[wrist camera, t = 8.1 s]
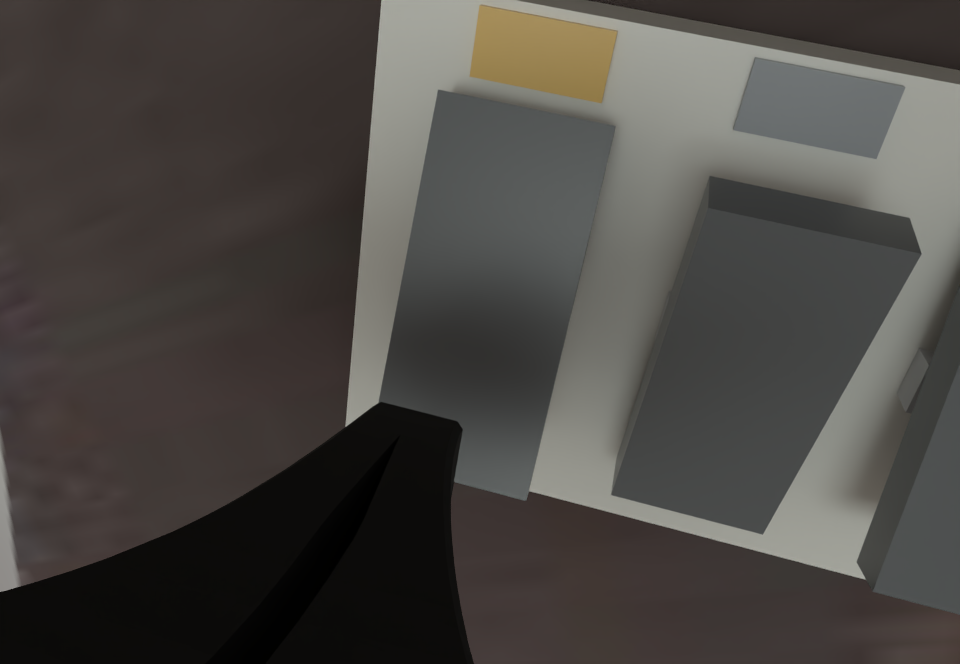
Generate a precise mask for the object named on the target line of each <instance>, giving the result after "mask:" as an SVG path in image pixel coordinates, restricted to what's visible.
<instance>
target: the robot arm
mask: <svg viewBox="0 0 960 664" xmlns="http://www.w3.org/2000/svg"><path fill="white" fill-rule="evenodd" d="M462 432H463V429H462V427H461V426H460V424H459V423H458V422H457V421H455V420H451V419H447V418H443V417H439V416H435V415H431V414H428V413H424V412H420V411H416V410H412V409H408V408H404V407H400V406H396V405H392V404H388V403H384V402H380V403H378V404H376V405H374V406H373V407H371V408H370V409H369V410H367V411H366V412H365V413H363V414H362V415H361V416H359V417H358V418H357V419H356V420H354V421H353V422H352V423H350V424H349V425H348V426H346V427H345V428H344V429H342V430H341V431H340V432H338V433H337V434H336V435H334V436H333V437H331V438H330V439H329V440H327V441H326V442H325V443H323V444H322V445H320V446H319V447H317V448H316V449H315V450H313V451H312V452H310V453H309V454H307V455H306V456H304V457H303V458H301V459H300V460H298V461H297V462H296V463H294V464H293V465H291V466H290V467H288V468H287V469H285V470H284V471H282V472H281V473H279V474H277V475H276V476H274V477H272V478H271V479H269V480H267V481H266V482H264V483H262V484H261V485H259V486H258V487H256V488H254V489H253V490H251V491H249V492H248V493H246V494H244V495H243V496H241V497H239V498H238V499H236V500H234V501H232V502H230V503H229V504H227V505H225V506H223V507H221V508H219V509H218V510H216V511H214V512H212V513H210V514H208V515H206V516H204V517H202V518H200V519H198V520H196V521H194V522H192V523H190V524H188V525H186V526H184V527H182V528H180V529H177V530H175V531H173V532H171V533H168V534H166V535H164V536H161V537H159V538H156V539H154V540H151V541H149V542H146V543H144V544H141V545H139V546H137V547H134V548H132V549H129V550H127V551H124V552H122V553H119V554H117V555H114V556H112V557H109V558H107V559H104V560H101V561H99V562H96V563H93V564H90V565H87V566H84V567H81V568H78V569H75V570H72V571H69V572H66V573H63V574H60V575H57V576H54V577H50V578H47V579H44V580H41V581H38V582H34V583H31V584H28V585H24V586H21V587H17V588H14V589H11V590H7V591H3V592H0V664H474V663H473V659H472V655H471V652H470V648H469V644H468V640H467V635H466V631H465V626H464V621H463V616H462V611H461V606H460V600H459V594H458V588H457V581H456V574H455V566H454V557H453V546H452V533H451V495H452V490H453V484H454V478H455V472H456V466H457V461H458V455H459V449H460V443H461V438H462Z"/></svg>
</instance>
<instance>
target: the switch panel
mask: <svg viewBox="0 0 960 664" xmlns="http://www.w3.org/2000/svg"><path fill="white" fill-rule="evenodd" d="M438 90H443V91H448V92H453V93H458V94H463V95H468V96H472V97H477V98H482V99H487V100H492V101H497V102H502V103H506V104H511V105H516V106H521V107H526V108H531V109H536V110H540V111H545V112H550V113H555V114H560V115H565V116H569V117H574V118H579V119H584V120H589V121H594V122H599V123H603V124H608V125H613V126H616V128H615V134H614V138H613V142H612V146H611V150H610V155H609V159H608V163H607V167H606V171H605V176H604V180H603V184H602V188H601V192H600V196H599V201H598V205H597V209H596V213H595V217H594V222H593V226H592V230H591V234H590V238H589V242H588V247H587V251H586V255H585V259H584V263H583V268H582V272H581V276H580V280H579V284H578V289H577V293H576V297H575V301H574V305H573V309H572V314H571V318H570V322H569V326H568V330H567V335H566V339H565V343H564V347H563V351H562V356H561V360H560V364H559V368H558V372H557V376H556V381H555V385H554V389H553V393H552V397H551V402H550V406H549V410H548V414H547V418H546V423H545V427H544V431H543V435H542V439H541V443H540V448H539V452H538V456H537V460H536V464H535V469H534V473H533V477H532V481H531V485H530V489H529V491H531V492H535V493H539V494H543V495H546V496H550V497H554V498H558V499H562V500H565V501H569V502H573V503H577V504H581V505H584V506H588V507H592V508H596V509H600V510H603V511H607V512H611V513H615V514H619V515H622V516H626V517H630V518H634V519H638V520H641V521H645V522H649V523H653V524H657V525H660V526H664V527H668V528H672V529H676V530H679V531H683V532H687V533H691V534H695V535H698V536H702V537H706V538H710V539H714V540H717V541H721V542H725V543H729V544H733V545H736V546H740V547H744V548H748V549H752V550H755V551H759V552H763V553H767V554H770V555H774V556H778V557H782V558H786V559H789V560H793V561H797V562H801V563H805V564H808V565H812V566H816V567H820V568H824V569H827V570H831V571H835V572H839V573H843V574H846V575H850V576H854V577H858V578H862V579H865V577H864V575H863V573H862V571H861V569H860V568H859V566H858V564H857V559H858V557H859V554H860V551H861V548H862V546H863V543H864V540H865V538H866V535H867V532H868V530H869V527H870V524H871V522H872V519H873V516H874V513H875V511H876V508H877V505H878V503H879V500H880V497H881V495H882V492H883V489H884V487H885V484H886V481H887V478H888V476H889V473H890V470H891V468H892V465H893V462H894V460H895V457H896V454H897V452H898V449H899V446H900V443H901V441H902V438H903V435H904V433H905V430H906V427H907V425H908V422H909V419H910V417H911V414H912V411H913V408H914V406H915V403H916V400H917V398H918V395H919V392H920V390H921V387H922V384H923V381H924V379H925V376H926V373H927V371H928V368H929V365H930V363H931V360H932V357H933V355H934V352H935V349H936V346H937V344H938V341H939V338H940V336H941V333H942V330H943V328H944V325H945V322H946V320H947V317H948V314H949V311H950V309H951V306H952V303H953V301H954V298H955V295H956V293H957V290H958V287H959V285H960V70H955V69H950V68H945V67H939V66H934V65H929V64H923V63H918V62H913V61H907V60H902V59H897V58H891V57H886V56H881V55H875V54H870V53H865V52H859V51H854V50H849V49H844V48H838V47H833V46H828V45H822V44H817V43H812V42H806V41H801V40H796V39H790V38H785V37H780V36H774V35H769V34H764V33H758V32H753V31H748V30H743V29H737V28H732V27H727V26H721V25H716V24H711V23H705V22H700V21H695V20H689V19H684V18H679V17H673V16H668V15H663V14H657V13H652V12H647V11H642V10H636V9H631V8H626V7H620V6H615V5H610V4H604V3H599V2H594V1H588V0H382V1H381V13H380V25H379V37H378V49H377V60H376V72H375V84H374V96H373V108H372V119H371V131H370V143H369V155H368V167H367V179H366V190H365V202H364V214H363V226H362V238H361V249H360V261H359V273H358V285H357V297H356V309H355V320H354V332H353V344H352V356H351V368H350V380H349V391H348V403H347V415H346V426H348V425H349V424H350V423H352V422H353V421H354V420H356V419H357V418H358V417H359V416H361V415H362V414H363V413H365V412H366V411H367V410H369V409H370V408H371V407H373V406H374V405H376V404H378V402H379V397H380V391H381V386H382V381H383V376H384V370H385V365H386V360H387V355H388V349H389V344H390V339H391V334H392V328H393V323H394V318H395V313H396V307H397V302H398V297H399V292H400V286H401V281H402V276H403V271H404V265H405V260H406V255H407V250H408V244H409V239H410V234H411V229H412V223H413V218H414V213H415V208H416V202H417V197H418V192H419V187H420V181H421V176H422V171H423V166H424V161H425V155H426V150H427V145H428V140H429V134H430V129H431V124H432V119H433V113H434V108H435V103H436V98H437V92H438ZM709 176H713V177H718V178H722V179H727V180H732V181H737V182H741V183H746V184H751V185H756V186H760V187H765V188H770V189H775V190H779V191H784V192H789V193H794V194H798V195H803V196H808V197H813V198H817V199H822V200H827V201H832V202H836V203H841V204H846V205H851V206H855V207H860V208H865V209H870V210H875V211H879V212H884V213H889V214H894V215H898V216H903V217H908V218H910V220H911V223H912V226H913V229H914V232H915V235H916V238H917V241H918V244H919V247H920V250H921V253H922V254H921V256H920V258H919V260H918V261H917V263H916V265H915V267H914V269H913V270H912V272H911V274H910V276H909V277H908V279H907V281H906V283H905V284H904V286H903V288H902V290H901V292H900V293H899V295H898V297H897V299H896V300H895V302H894V304H893V306H892V307H891V309H890V311H889V313H888V314H887V316H886V318H885V320H884V322H883V323H882V325H881V327H880V329H879V330H878V332H877V334H876V336H875V337H874V339H873V341H872V343H871V345H870V346H869V348H868V350H867V352H866V353H865V355H864V357H863V359H862V360H861V362H860V364H859V366H858V367H857V369H856V371H855V373H854V375H853V376H852V378H851V380H850V382H849V383H848V385H847V387H846V389H845V390H844V392H843V394H842V396H841V397H840V399H839V401H838V403H837V405H836V406H835V408H834V410H833V412H832V413H831V415H830V417H829V419H828V420H827V422H826V424H825V426H824V428H823V429H822V431H821V433H820V435H819V436H818V438H817V440H816V442H815V443H814V445H813V447H812V449H811V450H810V452H809V454H808V456H807V458H806V459H805V461H804V463H803V465H802V466H801V468H800V470H799V472H798V473H797V475H796V477H795V479H794V481H793V482H792V484H791V486H790V488H789V489H788V491H787V493H786V495H785V496H784V498H783V500H782V502H781V503H780V505H779V507H778V509H777V511H776V512H775V514H774V516H773V518H772V519H771V521H770V523H769V525H768V526H767V528H766V530H765V532H764V534H763V535H762V534H758V533H755V532H751V531H747V530H743V529H739V528H735V527H731V526H728V525H724V524H720V523H716V522H712V521H708V520H705V519H701V518H697V517H693V516H689V515H685V514H682V513H678V512H674V511H670V510H666V509H662V508H659V507H655V506H651V505H647V504H643V503H639V502H636V501H632V500H628V499H624V498H620V497H616V496H613V495H611V491H612V484H613V478H614V471H615V464H616V458H617V455H618V452H619V449H620V446H621V443H622V440H623V437H624V434H625V431H626V428H627V425H628V422H629V419H630V415H631V412H632V409H633V406H634V403H635V400H636V397H637V394H638V391H639V388H640V385H641V382H642V379H643V376H644V373H645V370H646V367H647V364H648V361H649V358H650V355H651V352H652V349H653V346H654V343H655V340H656V337H657V334H658V331H659V328H660V325H661V322H662V319H663V315H664V312H665V309H666V306H667V303H668V300H669V297H670V294H671V291H672V288H673V285H674V282H675V279H676V276H677V273H678V270H679V267H680V264H681V261H682V258H683V255H684V252H685V249H686V246H687V243H688V240H689V237H690V234H691V231H692V228H693V225H694V222H695V218H696V215H697V212H698V209H699V206H700V203H701V200H702V197H703V194H704V191H705V188H706V185H707V182H708V179H709ZM865 580H866V579H865Z"/></svg>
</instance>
